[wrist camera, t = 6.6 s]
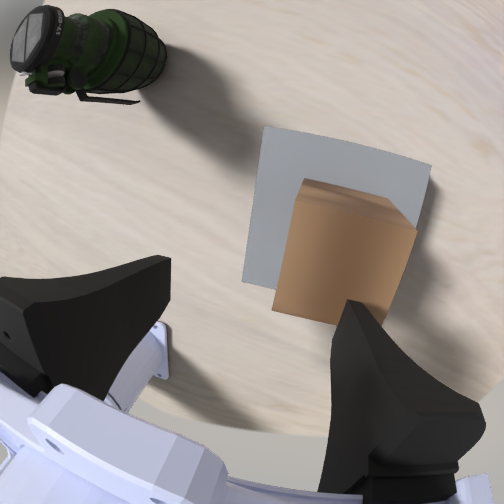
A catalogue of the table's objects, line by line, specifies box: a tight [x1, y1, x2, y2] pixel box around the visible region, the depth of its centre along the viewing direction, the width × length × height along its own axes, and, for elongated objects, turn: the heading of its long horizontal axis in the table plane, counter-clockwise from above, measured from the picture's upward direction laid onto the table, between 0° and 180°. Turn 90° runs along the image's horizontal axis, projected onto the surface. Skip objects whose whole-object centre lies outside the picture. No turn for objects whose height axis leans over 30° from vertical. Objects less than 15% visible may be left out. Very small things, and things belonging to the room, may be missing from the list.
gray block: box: [242, 126, 432, 289], centre depth 19 cm, size 10×10×4 cm
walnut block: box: [272, 178, 418, 326], centre depth 14 cm, size 5×5×6 cm
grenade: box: [10, 5, 167, 105], centre depth 13 cm, size 6×6×12 cm
